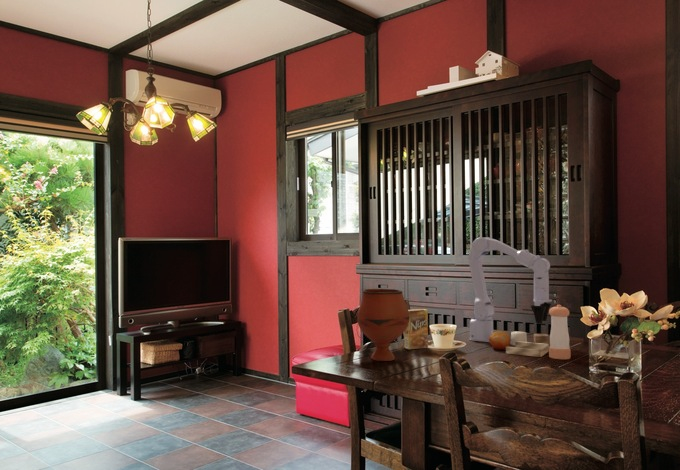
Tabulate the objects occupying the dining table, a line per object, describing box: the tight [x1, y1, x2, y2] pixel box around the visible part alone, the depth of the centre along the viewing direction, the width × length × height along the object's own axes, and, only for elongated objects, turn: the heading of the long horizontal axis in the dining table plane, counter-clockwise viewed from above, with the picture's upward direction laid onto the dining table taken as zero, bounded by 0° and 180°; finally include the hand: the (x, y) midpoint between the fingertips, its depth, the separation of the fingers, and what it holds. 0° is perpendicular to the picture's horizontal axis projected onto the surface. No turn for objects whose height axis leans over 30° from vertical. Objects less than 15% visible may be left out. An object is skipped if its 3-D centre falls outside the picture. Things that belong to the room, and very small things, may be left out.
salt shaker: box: [548, 304, 572, 360], centre depth 199 cm, size 7×7×19 cm
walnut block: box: [533, 333, 550, 345], centre depth 217 cm, size 5×5×5 cm
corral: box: [505, 341, 550, 358], centre depth 208 cm, size 13×14×2 cm
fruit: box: [489, 330, 511, 351], centre depth 215 cm, size 8×8×8 cm
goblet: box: [356, 288, 409, 362], centre depth 198 cm, size 19×19×25 cm
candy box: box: [403, 308, 429, 350], centre depth 217 cm, size 9×4×15 cm, turn 113°
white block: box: [510, 330, 528, 347], centre depth 223 cm, size 6×6×5 cm
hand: (541, 322), depth 220 cm, fingers open, 7 cm apart
